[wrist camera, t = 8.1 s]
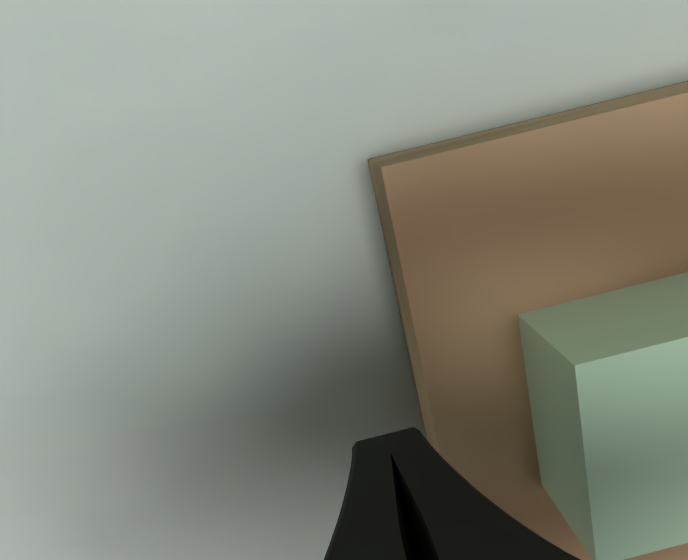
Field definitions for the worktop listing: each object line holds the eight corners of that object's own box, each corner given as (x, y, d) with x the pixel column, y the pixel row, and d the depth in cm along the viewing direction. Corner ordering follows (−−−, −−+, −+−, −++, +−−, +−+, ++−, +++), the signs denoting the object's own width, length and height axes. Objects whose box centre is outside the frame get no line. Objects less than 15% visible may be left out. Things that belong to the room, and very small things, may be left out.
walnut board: (773, 669, 19) (827, 732, 17) (491, 743, 19) (514, 815, 17) (784, 57, 13) (871, 47, 11) (367, 159, 12) (381, 167, 11)
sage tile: (720, 438, 13) (815, 509, 11) (541, 484, 13) (596, 566, 11) (717, 264, 12) (824, 302, 9) (517, 314, 12) (574, 365, 9)
